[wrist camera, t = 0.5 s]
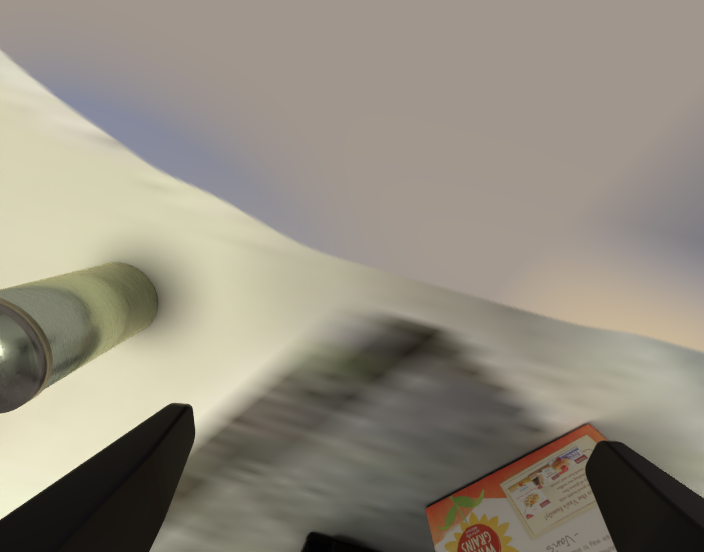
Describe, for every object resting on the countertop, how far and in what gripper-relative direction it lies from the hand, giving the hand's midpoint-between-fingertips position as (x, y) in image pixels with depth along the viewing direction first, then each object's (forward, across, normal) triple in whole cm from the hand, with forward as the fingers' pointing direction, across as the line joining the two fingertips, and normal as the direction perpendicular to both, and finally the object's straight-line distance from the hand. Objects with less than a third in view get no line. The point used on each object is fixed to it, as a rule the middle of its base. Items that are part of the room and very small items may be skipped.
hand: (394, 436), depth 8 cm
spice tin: (+15, +16, +6) cm, 23 cm away
